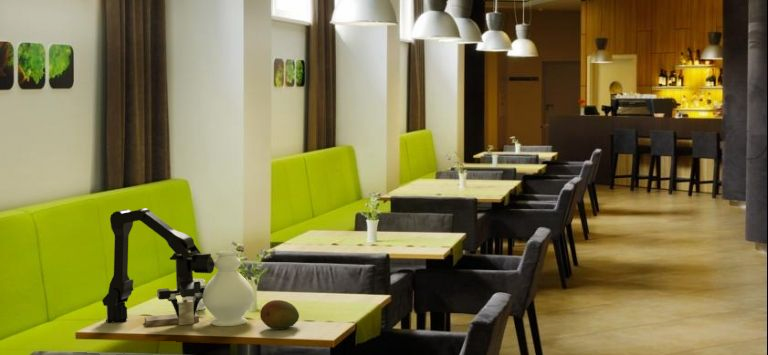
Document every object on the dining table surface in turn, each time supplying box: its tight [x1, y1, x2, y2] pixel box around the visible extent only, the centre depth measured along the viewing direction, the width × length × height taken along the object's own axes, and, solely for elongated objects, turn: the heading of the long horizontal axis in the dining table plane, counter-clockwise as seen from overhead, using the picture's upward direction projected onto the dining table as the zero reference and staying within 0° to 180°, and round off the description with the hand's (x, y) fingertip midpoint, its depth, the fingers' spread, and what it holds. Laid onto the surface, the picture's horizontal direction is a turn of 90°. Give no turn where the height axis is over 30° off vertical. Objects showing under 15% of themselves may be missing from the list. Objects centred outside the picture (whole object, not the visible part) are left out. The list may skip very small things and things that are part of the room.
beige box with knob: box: [177, 299, 195, 326], centre depth 392 cm, size 5×10×8 cm, turn 19°
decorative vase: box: [202, 249, 255, 327], centre depth 389 cm, size 18×18×25 cm
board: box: [144, 311, 200, 328], centre depth 393 cm, size 18×7×2 cm, turn 109°
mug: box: [181, 278, 207, 312], centre depth 413 cm, size 9×12×11 cm
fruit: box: [259, 299, 300, 330], centre depth 379 cm, size 12×12×10 cm
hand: (185, 316), depth 389 cm, fingers closed on beige box with knob, 5 cm apart
